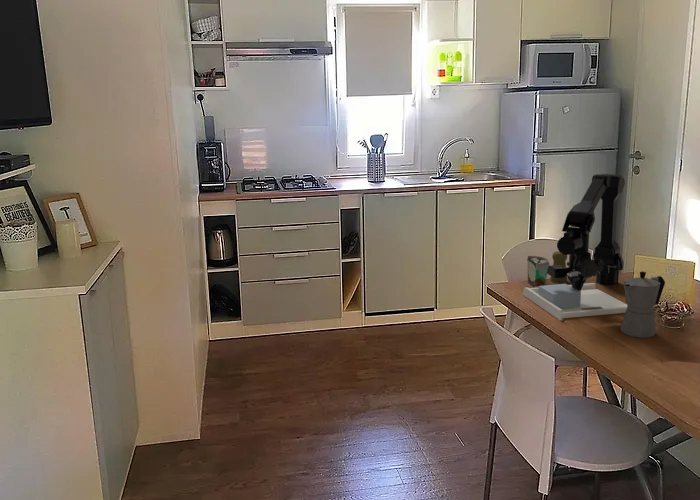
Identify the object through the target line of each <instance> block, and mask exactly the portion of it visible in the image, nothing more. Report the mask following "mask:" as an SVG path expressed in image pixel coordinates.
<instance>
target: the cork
mask: <svg viewBox="0 0 700 500" xmlns="http://www.w3.org/2000/svg"><path fill="white" fill-rule="evenodd" d="M551 256H552V257H551V258H552V260H553V263H552V265H560V266H562V267H564V268H566V267H567V260H568V255H564V254H562V253H560V252H559V250H556V251H554V252H553V253H552V255H551ZM549 281H550V282H552V283H554V284H567V282H568V277H567V276H565V277H564V278H554V277H552V276H550V279H549Z"/></svg>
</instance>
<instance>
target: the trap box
mask: <svg viewBox="0 0 700 500" xmlns="http://www.w3.org/2000/svg"><path fill="white" fill-rule="evenodd" d="M568 285H569V286H571V287H572V285H571V284H568ZM538 292H539V287H538V288H534V287H524V288H523V293H522V294H523V296H524V297H525V298H527V299H528V300H530V301H531V302H533V303H534V304H536V305H537V306H538V307H540V308H541V309H543V310H544V311H546V312H547V313H549V314H550V315H551V316H553V317H554V318H555V319H557V320H559V321H560V322H561V321H563V322H565V319H570V318H579V317H580V318H581V317H590V316H591V317H593V316H602V315H603V316H604V315H614V314H625V311H626V309H627V303H626V302H623V301H621V300H619V299H618V298H615V297H613V296H611V295H609V294H608V293H605V292H604V291H602V290H600V289H598V288H597V287H596V283H595V282H589V283H584V284H583V287H582V289H581V291H580V292H581V301H580V307H574V308H564V309H560V308H559V307H557V306H555V305H554V304H552V303H551V302H549V301H548V300H546V299H545V298H543V297H542V296H540V295H539V294H538Z"/></svg>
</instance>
